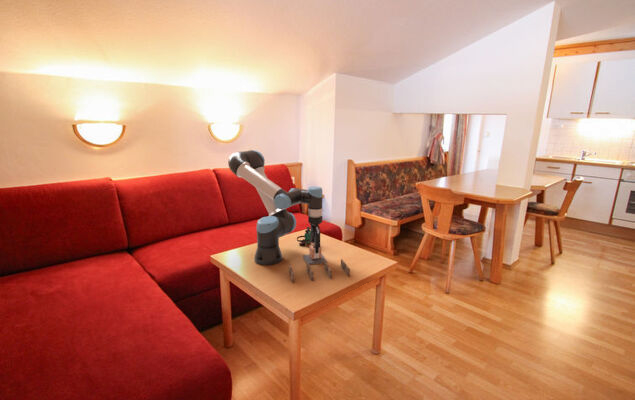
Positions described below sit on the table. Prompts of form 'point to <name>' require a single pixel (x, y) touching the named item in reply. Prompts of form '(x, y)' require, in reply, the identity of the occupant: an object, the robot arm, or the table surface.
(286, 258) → the table surface
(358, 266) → the table surface
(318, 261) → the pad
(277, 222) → the robot arm
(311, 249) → the letter cube
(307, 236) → the binoculars
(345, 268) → the bay rack
